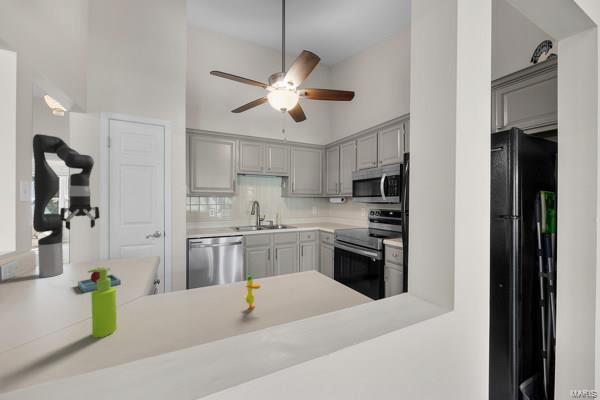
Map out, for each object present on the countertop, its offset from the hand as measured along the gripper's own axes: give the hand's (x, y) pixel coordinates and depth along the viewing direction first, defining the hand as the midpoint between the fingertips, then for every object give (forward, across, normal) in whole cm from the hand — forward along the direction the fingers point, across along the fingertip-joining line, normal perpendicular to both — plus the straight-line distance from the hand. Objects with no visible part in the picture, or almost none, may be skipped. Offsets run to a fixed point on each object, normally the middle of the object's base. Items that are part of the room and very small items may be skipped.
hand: (80, 228), depth 120 cm
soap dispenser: (+26, +4, +64) cm, 69 cm away
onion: (+26, -5, +11) cm, 29 cm away
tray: (+27, -5, +11) cm, 29 cm away
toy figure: (+25, -36, +88) cm, 98 cm away
